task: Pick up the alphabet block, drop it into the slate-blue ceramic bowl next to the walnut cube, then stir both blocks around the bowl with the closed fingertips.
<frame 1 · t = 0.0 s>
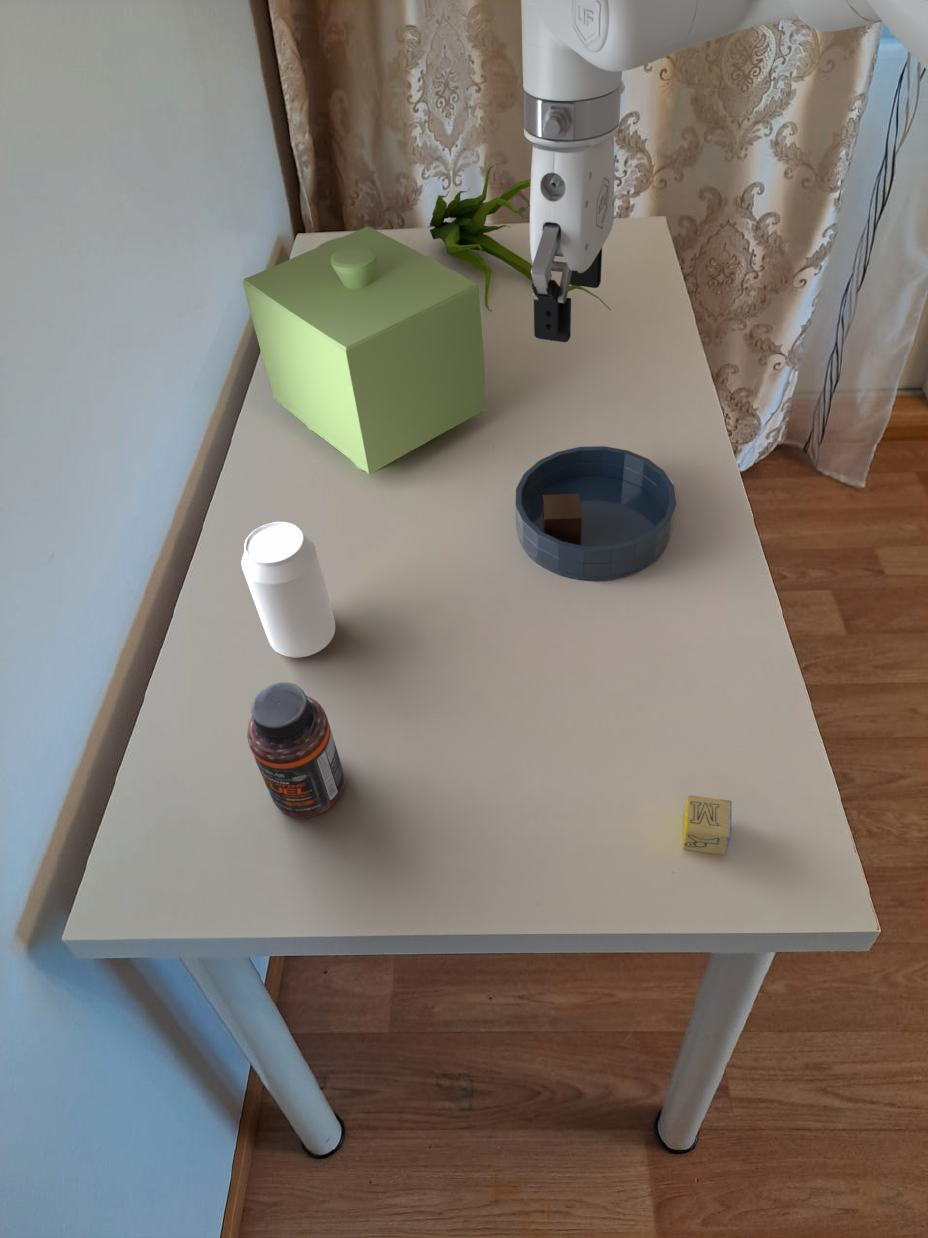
hand: (568, 310, 83), 18 cm above the table, tool pointing down, fingers open, 9 cm apart
container: (381, 422, 104), on the table
supplement bottle: (309, 789, 72), on the table
mug: (349, 327, 119), on the table
decorative plant: (514, 279, 124), on the table
beverage can: (304, 638, 83), on the table
bowl: (593, 526, 90), on the table
walnut cube: (561, 533, 89), point 1 cm above the table, touching bowl
alphabet block: (703, 836, 67), on the table
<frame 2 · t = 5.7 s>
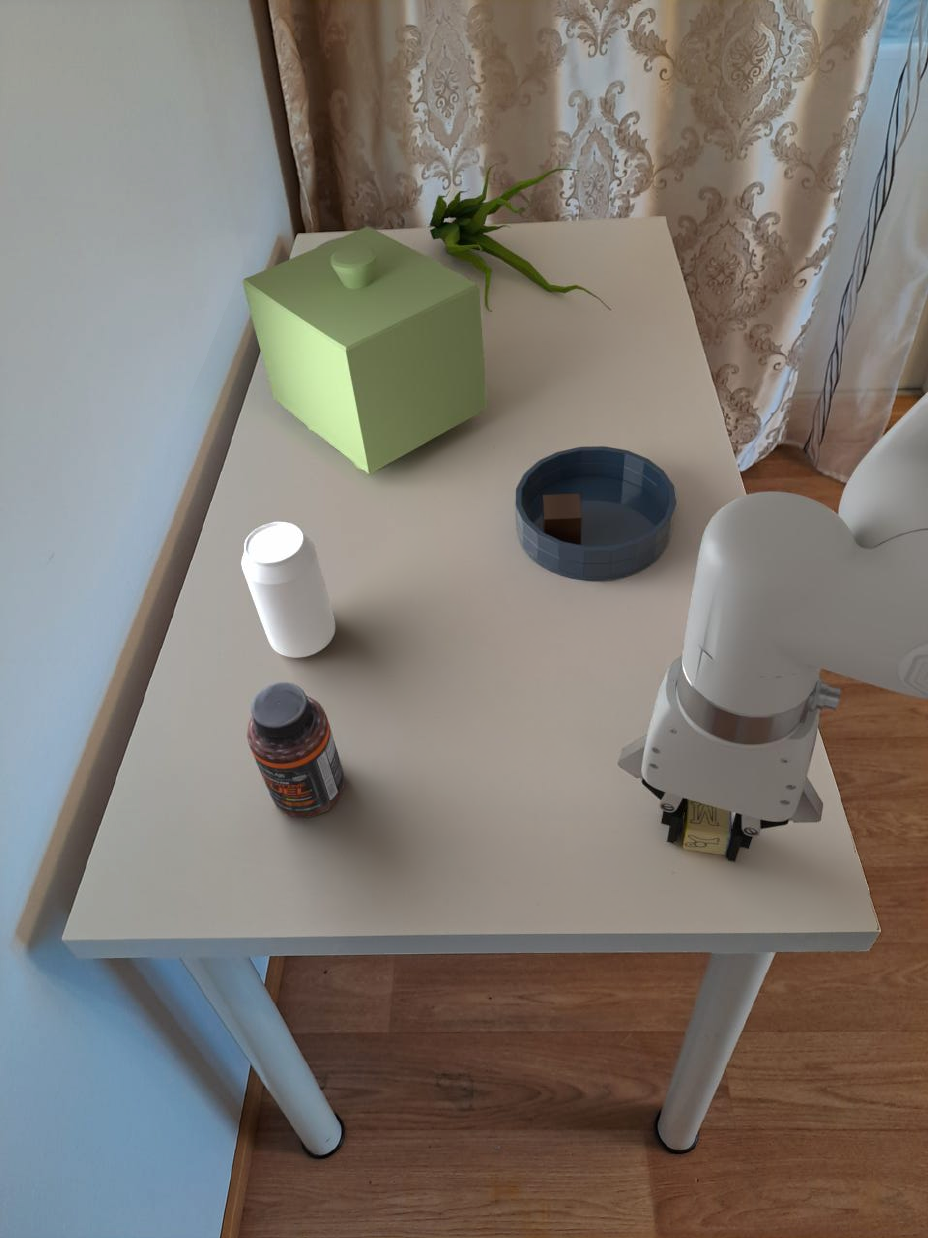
hand: (704, 833, 67), 0 cm above the table, tool pointing down, fingers closed on alphabet block, 3 cm apart
alphabet block: (703, 836, 67), on the table, touching gripper
everything else where it was.
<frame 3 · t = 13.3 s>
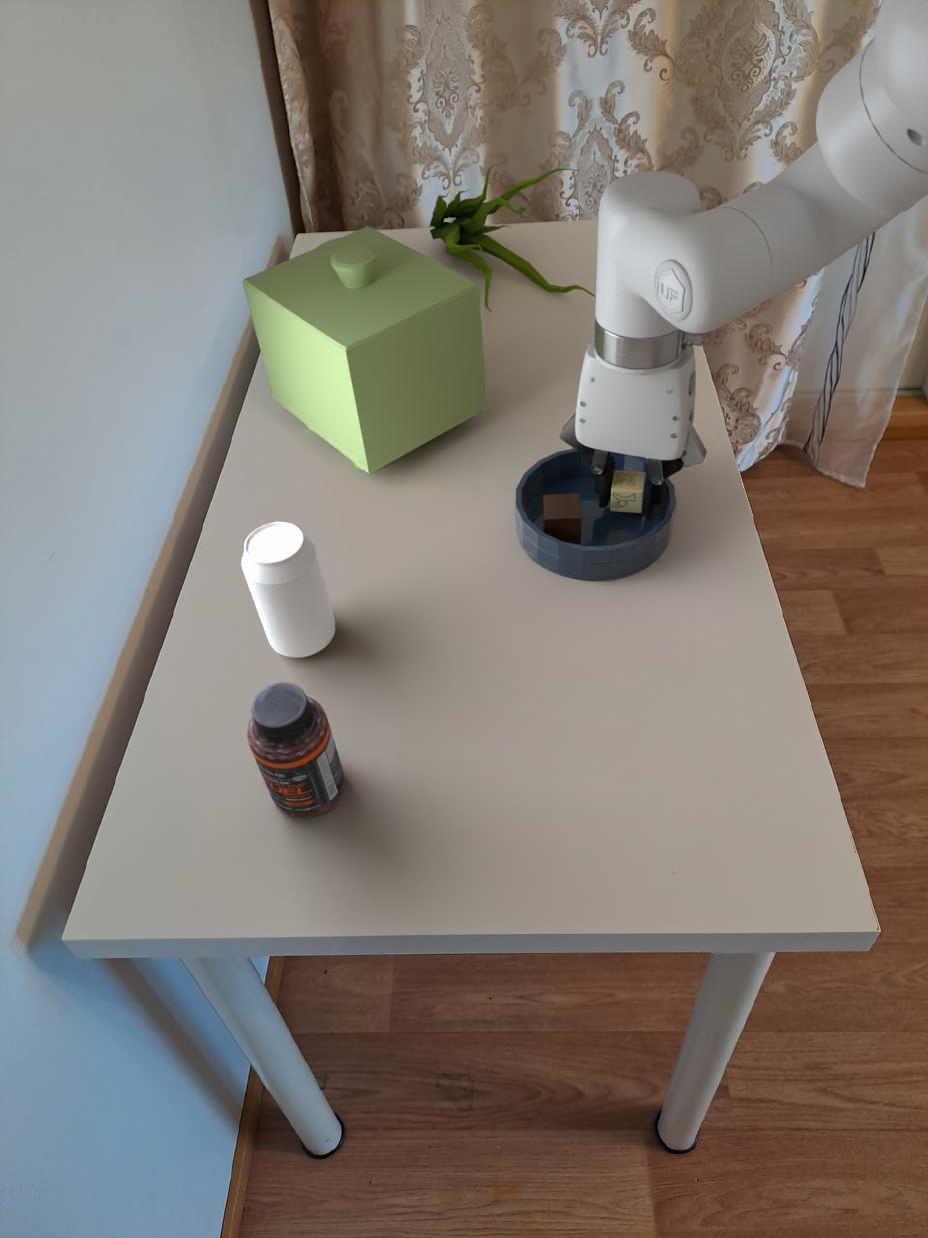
hand: (627, 501, 89), 2 cm above the table, tool pointing down, fingers closed on alphabet block, 3 cm apart
alphabet block: (627, 505, 89), point 2 cm above the table, touching gripper
everything else where it was.
when the fingers open (5 cm above the table, at t = 23.8 s): alphabet block drops 4 cm, resting on bowl.
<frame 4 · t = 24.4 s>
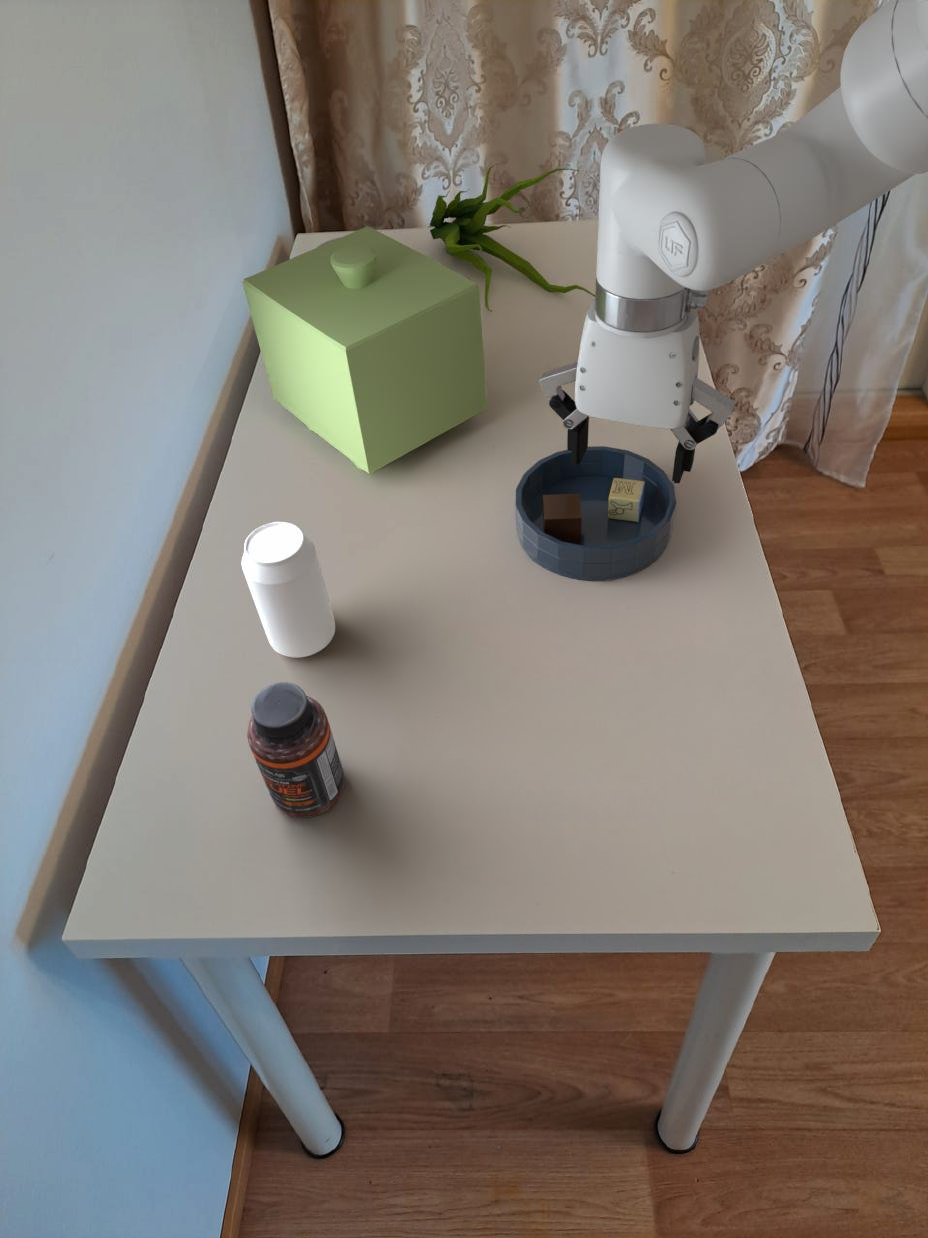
hand: (628, 465, 86), 6 cm above the table, tool pointing down, fingers open, 9 cm apart
alphabet block: (625, 513, 90), resting on bowl
everything else where it was.
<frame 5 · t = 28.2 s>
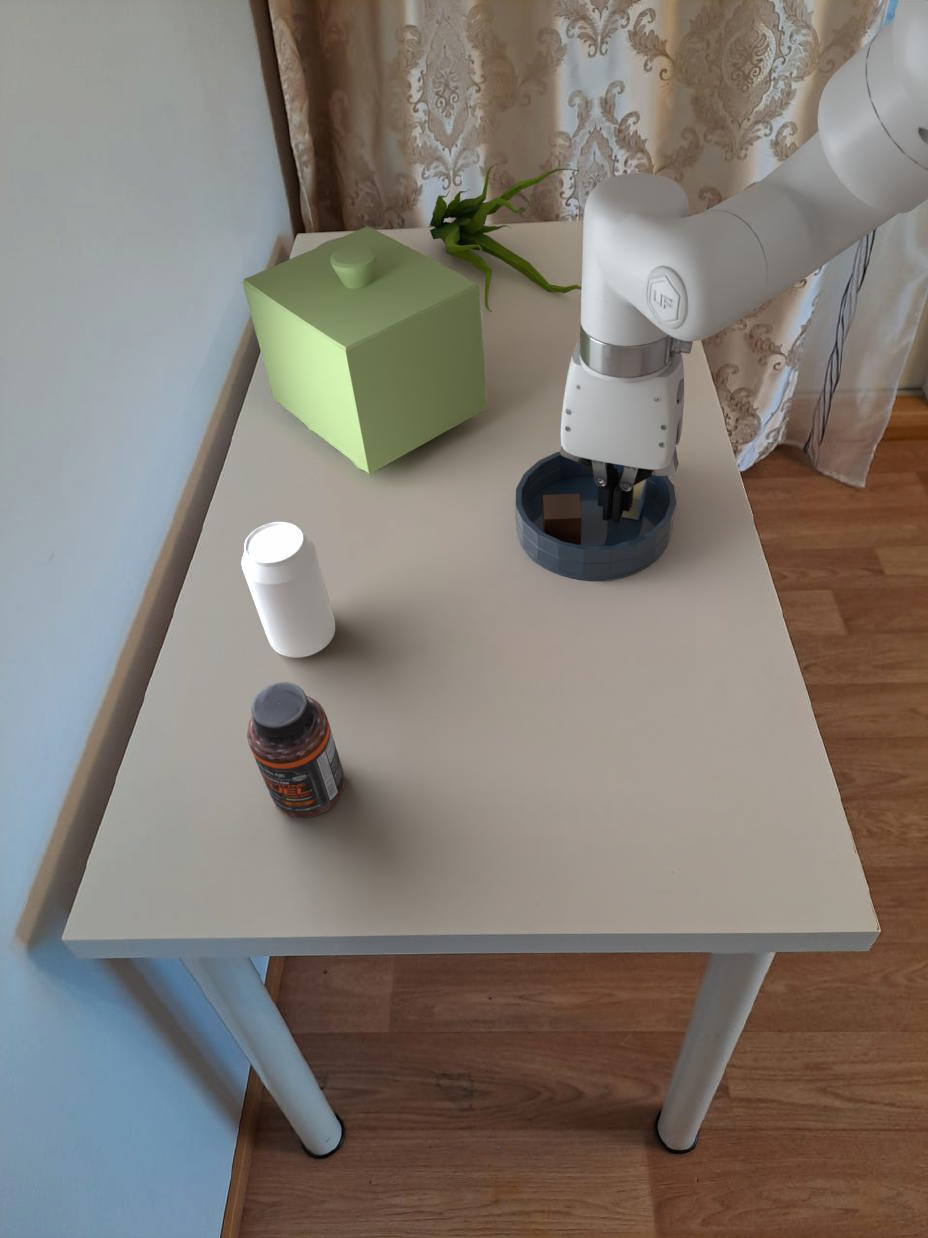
hand: (614, 511, 87), 3 cm above the table, tool pointing down, fingers closed
alphabet block: (626, 510, 90), resting on bowl, touching gripper
everything else where it was.
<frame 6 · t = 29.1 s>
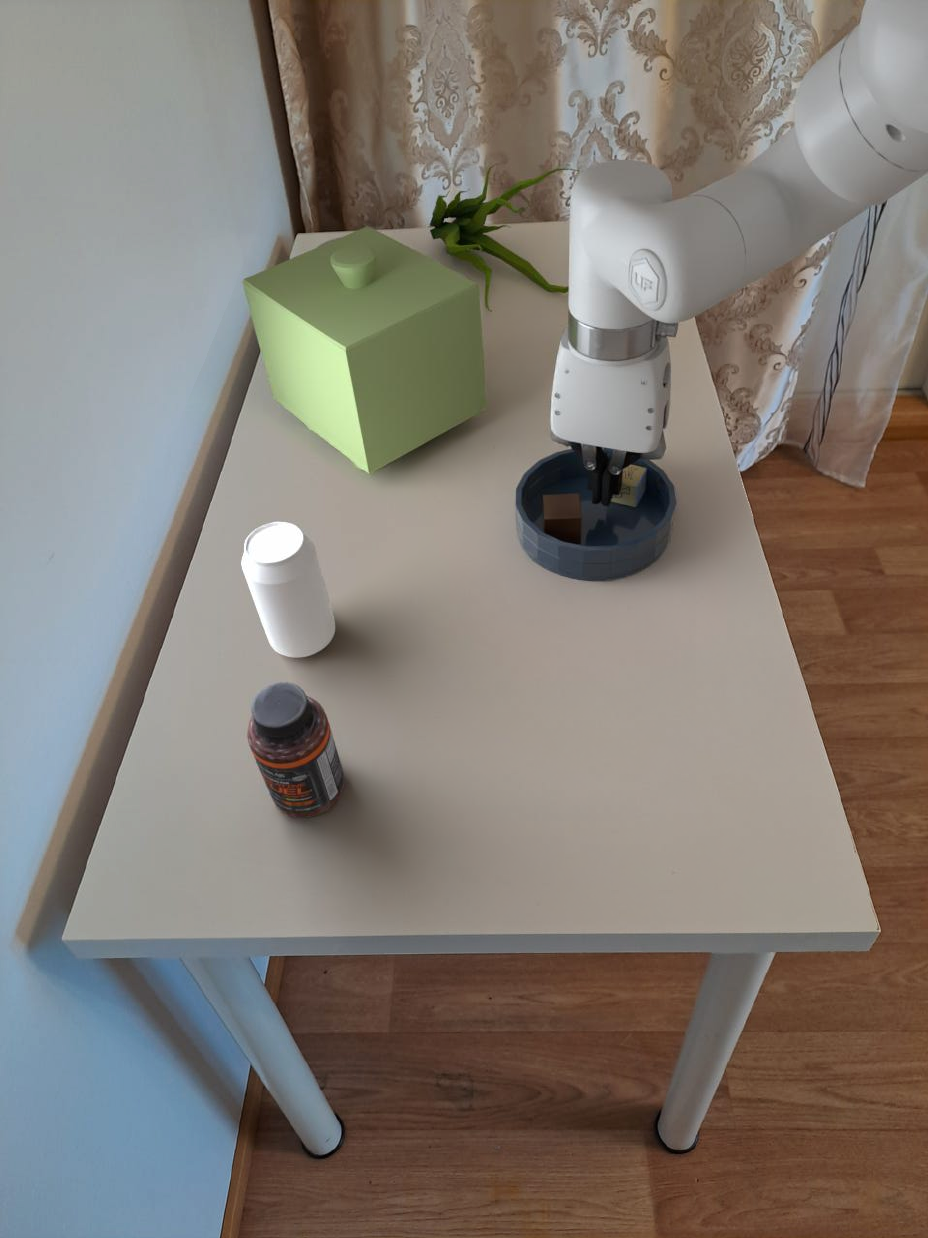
hand: (604, 495, 88), 3 cm above the table, tool pointing down, fingers closed
alphabet block: (625, 497, 92), resting on bowl, touching gripper
everything else where it was.
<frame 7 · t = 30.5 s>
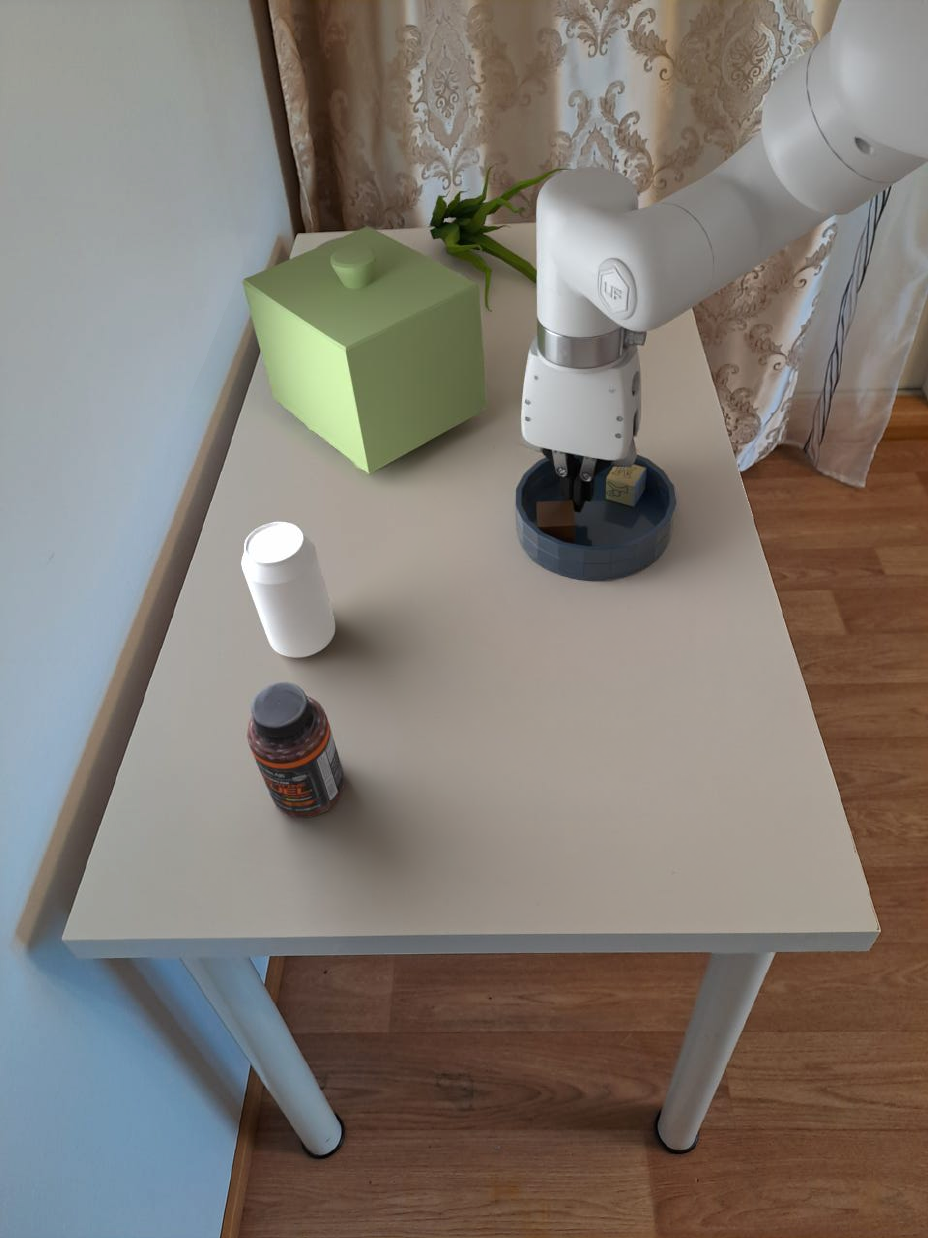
hand: (576, 501, 88), 3 cm above the table, tool pointing down, fingers closed
walnut cube: (555, 540, 88), point 1 cm above the table, touching bowl, gripper
alphabet block: (624, 496, 92), resting on bowl
everything else where it was.
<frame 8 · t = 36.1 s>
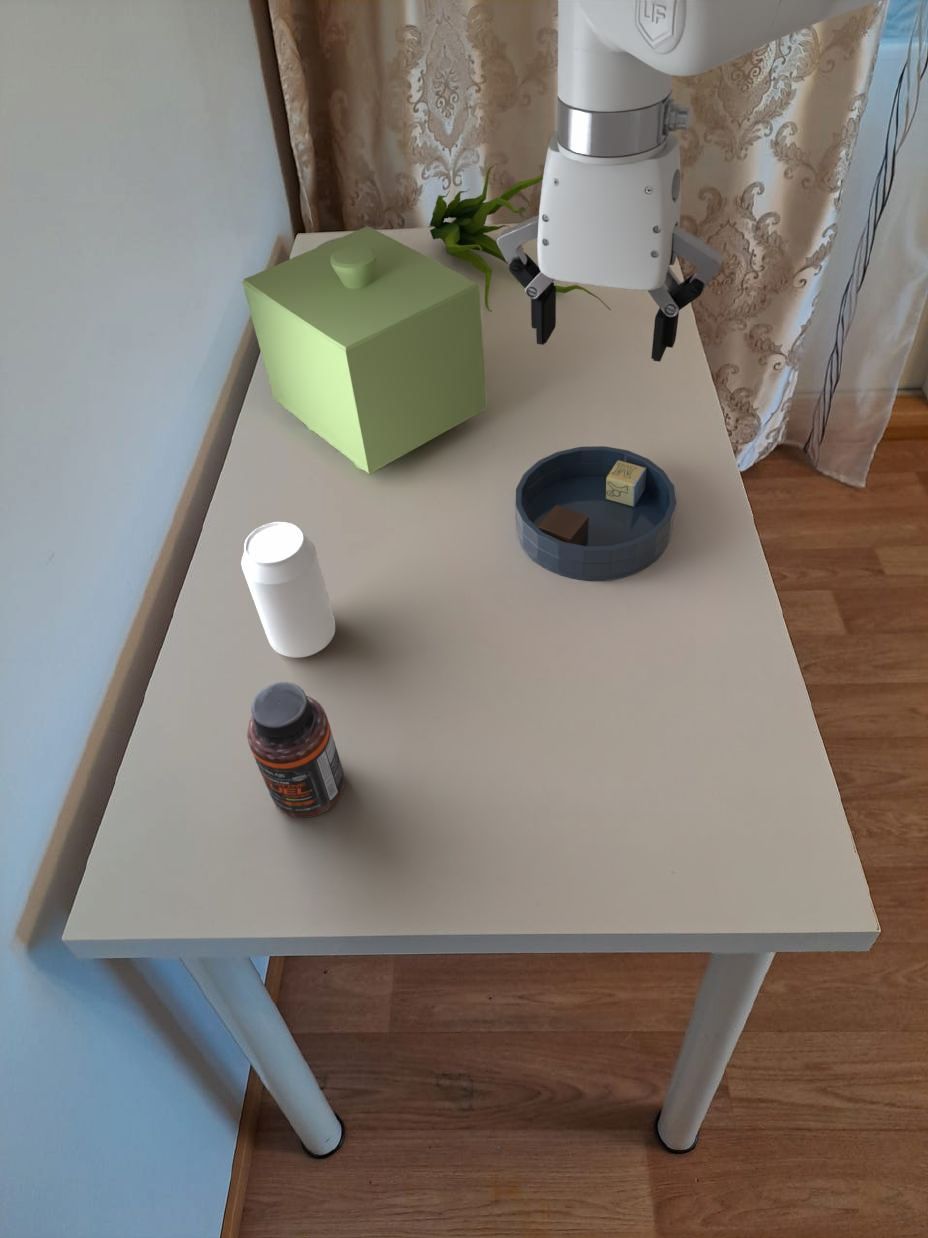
hand: (602, 343, 75), 20 cm above the table, tool pointing down, fingers open, 9 cm apart
walnut cube: (563, 548, 87), point 1 cm above the table, touching bowl
everything else where it was.
at the end: alphabet block inside the target area in the bowl (5.1 cm from its centre), point 0.4 cm above the bowl's base; walnut cube moved 2.2 cm from its start; the gripper is holding nothing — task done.
